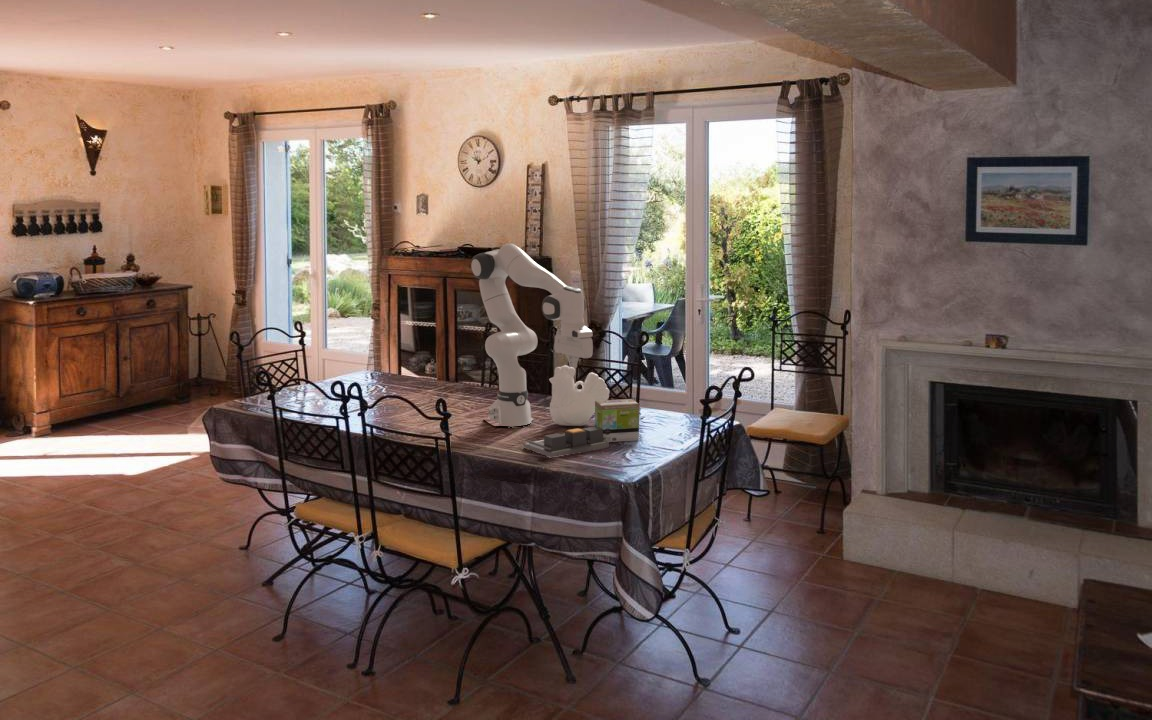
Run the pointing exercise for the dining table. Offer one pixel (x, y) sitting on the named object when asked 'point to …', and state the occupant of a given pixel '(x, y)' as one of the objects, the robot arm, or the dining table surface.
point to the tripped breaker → (576, 438)
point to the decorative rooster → (575, 397)
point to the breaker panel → (558, 445)
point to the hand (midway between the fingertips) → (573, 367)
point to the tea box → (618, 419)
